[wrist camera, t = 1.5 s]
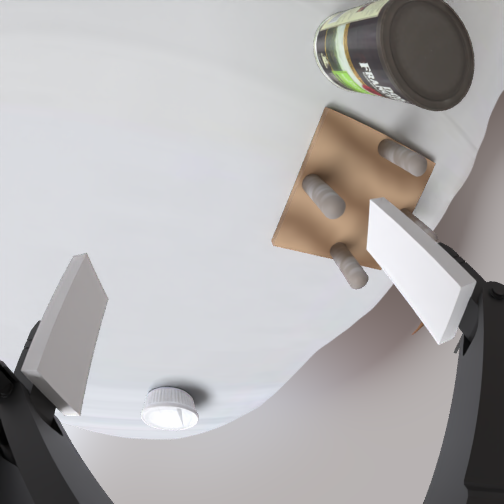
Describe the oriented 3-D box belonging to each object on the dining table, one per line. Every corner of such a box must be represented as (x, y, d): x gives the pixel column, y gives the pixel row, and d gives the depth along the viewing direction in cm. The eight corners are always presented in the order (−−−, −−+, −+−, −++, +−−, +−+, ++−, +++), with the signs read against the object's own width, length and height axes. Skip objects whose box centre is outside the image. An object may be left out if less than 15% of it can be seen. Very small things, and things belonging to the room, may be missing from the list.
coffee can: (371, 107, 32) (450, 134, 20) (298, 66, 29) (359, 63, 17) (403, 42, 28) (486, 45, 16) (334, -4, 24) (405, -34, 12)
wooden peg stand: (325, 106, 31) (358, 117, 25) (430, 160, 37) (468, 182, 30) (271, 240, 40) (287, 279, 33) (377, 265, 45) (403, 299, 38)
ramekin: (208, 400, 58) (209, 422, 54) (167, 414, 60) (167, 435, 55) (172, 376, 52) (172, 400, 48) (131, 393, 54) (129, 415, 49)
